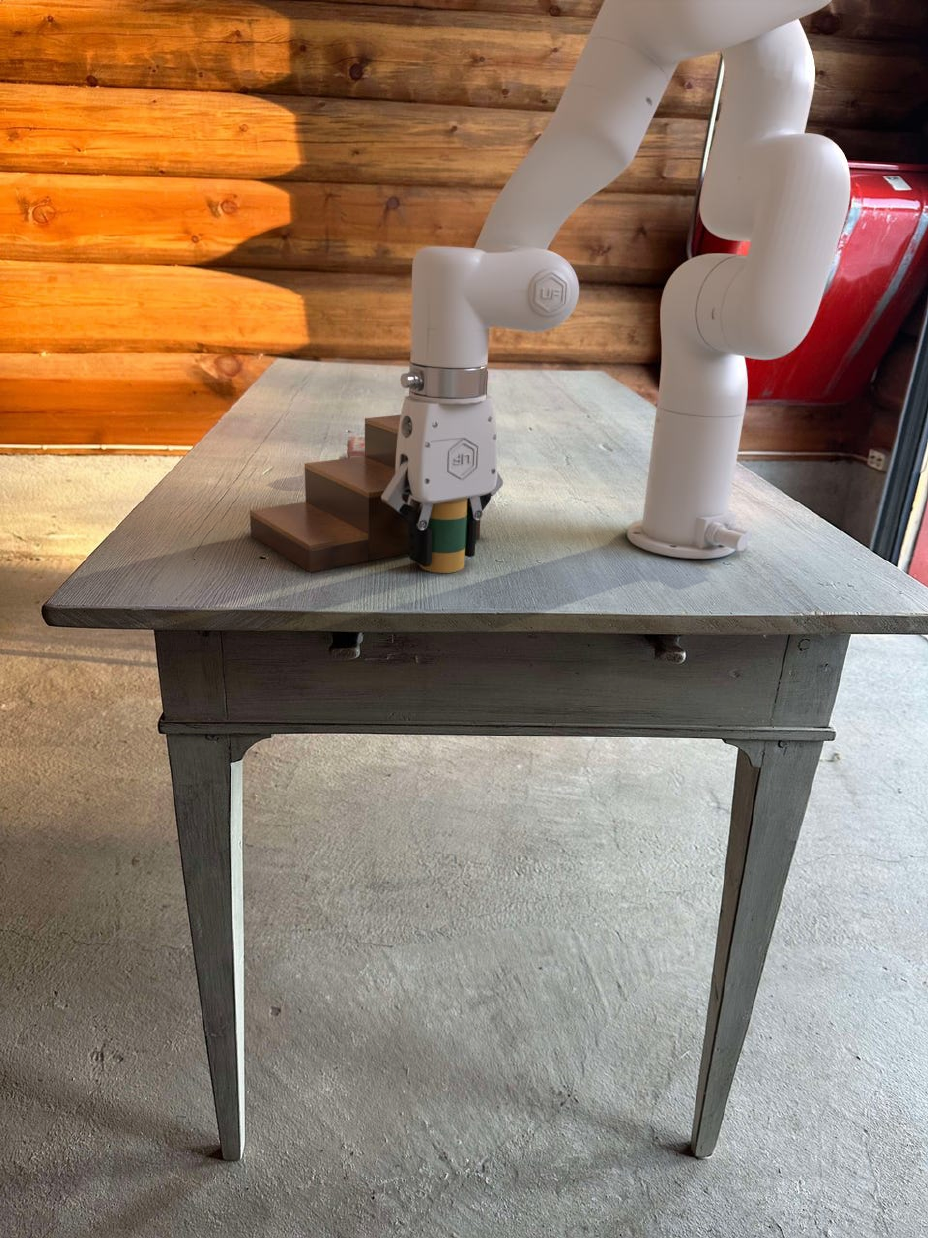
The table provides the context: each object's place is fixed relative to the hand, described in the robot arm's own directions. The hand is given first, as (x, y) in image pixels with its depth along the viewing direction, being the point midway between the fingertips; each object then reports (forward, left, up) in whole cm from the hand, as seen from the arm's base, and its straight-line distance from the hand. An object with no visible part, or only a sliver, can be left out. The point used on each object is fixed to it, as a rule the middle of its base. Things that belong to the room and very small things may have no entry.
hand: (442, 556), depth 96 cm
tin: (0, 0, -1) cm, 1 cm away
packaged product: (+34, -17, -1) cm, 38 cm away
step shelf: (+12, +2, -1) cm, 12 cm away
